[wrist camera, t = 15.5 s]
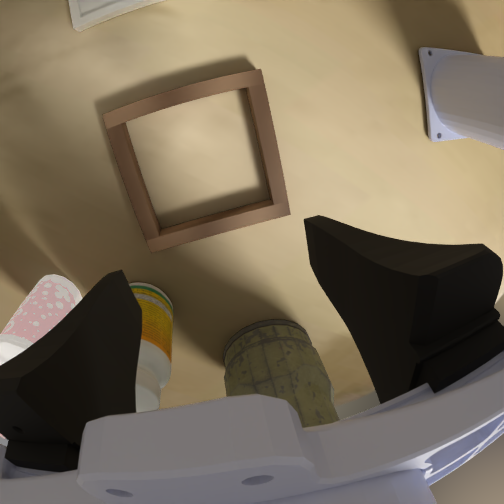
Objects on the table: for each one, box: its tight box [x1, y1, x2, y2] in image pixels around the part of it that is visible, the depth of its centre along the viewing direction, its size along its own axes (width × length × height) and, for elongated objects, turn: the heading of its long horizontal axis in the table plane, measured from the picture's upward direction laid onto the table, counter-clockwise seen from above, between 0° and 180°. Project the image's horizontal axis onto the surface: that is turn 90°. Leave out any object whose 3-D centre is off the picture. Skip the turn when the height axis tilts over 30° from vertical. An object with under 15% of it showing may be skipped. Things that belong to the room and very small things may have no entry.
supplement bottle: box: [129, 282, 174, 412], centre depth 20 cm, size 5×5×10 cm
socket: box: [102, 69, 291, 253], centre depth 19 cm, size 10×10×1 cm
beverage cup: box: [0, 274, 82, 439], centre depth 16 cm, size 6×6×14 cm
